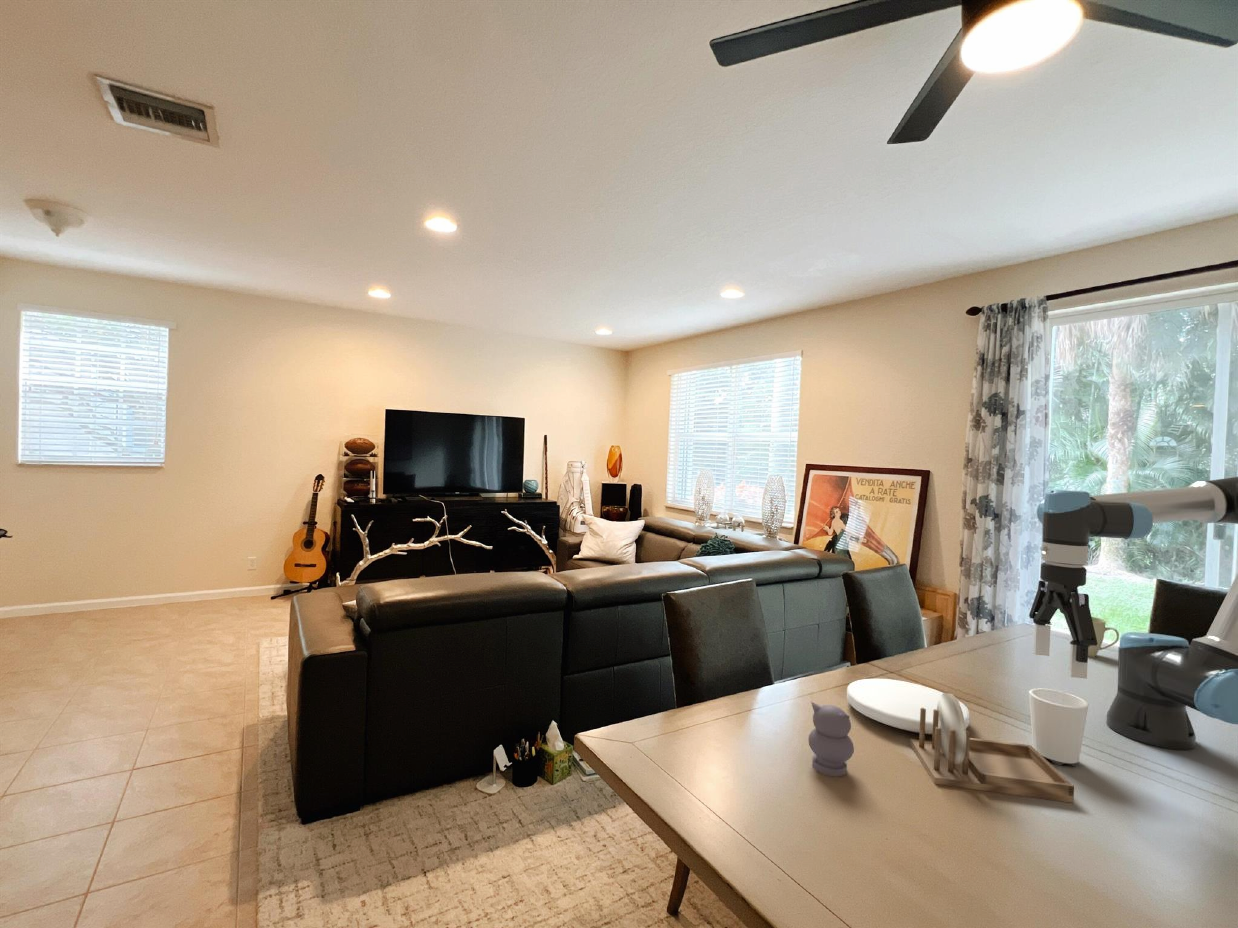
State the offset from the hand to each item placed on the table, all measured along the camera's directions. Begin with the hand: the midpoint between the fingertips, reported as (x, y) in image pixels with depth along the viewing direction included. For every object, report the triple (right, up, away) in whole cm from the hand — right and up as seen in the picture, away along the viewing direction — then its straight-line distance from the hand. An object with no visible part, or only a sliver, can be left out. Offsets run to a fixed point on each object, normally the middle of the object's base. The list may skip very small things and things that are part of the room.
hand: (1058, 665), depth 119 cm
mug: (+65, -22, +70) cm, 98 cm away
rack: (-19, -19, -6) cm, 28 cm away
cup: (-1, -20, 0) cm, 20 cm away
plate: (-23, -19, +18) cm, 35 cm away
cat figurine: (-50, -18, -7) cm, 54 cm away
